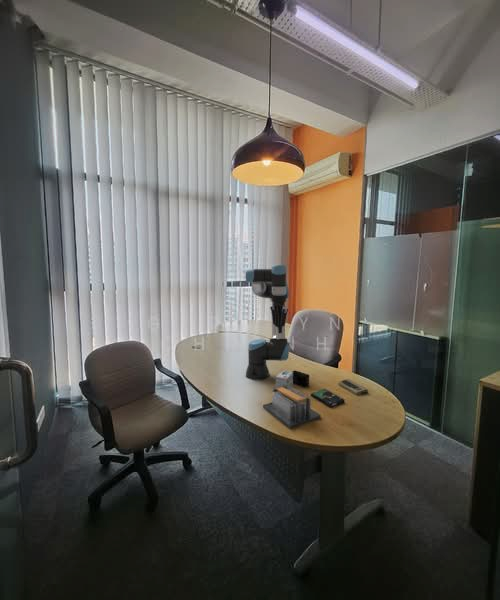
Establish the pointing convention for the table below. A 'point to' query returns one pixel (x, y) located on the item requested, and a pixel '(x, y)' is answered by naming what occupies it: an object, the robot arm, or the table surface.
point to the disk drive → (327, 398)
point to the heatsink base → (291, 422)
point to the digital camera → (300, 379)
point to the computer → (353, 387)
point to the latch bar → (291, 395)
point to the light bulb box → (284, 380)
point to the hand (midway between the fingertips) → (278, 338)
